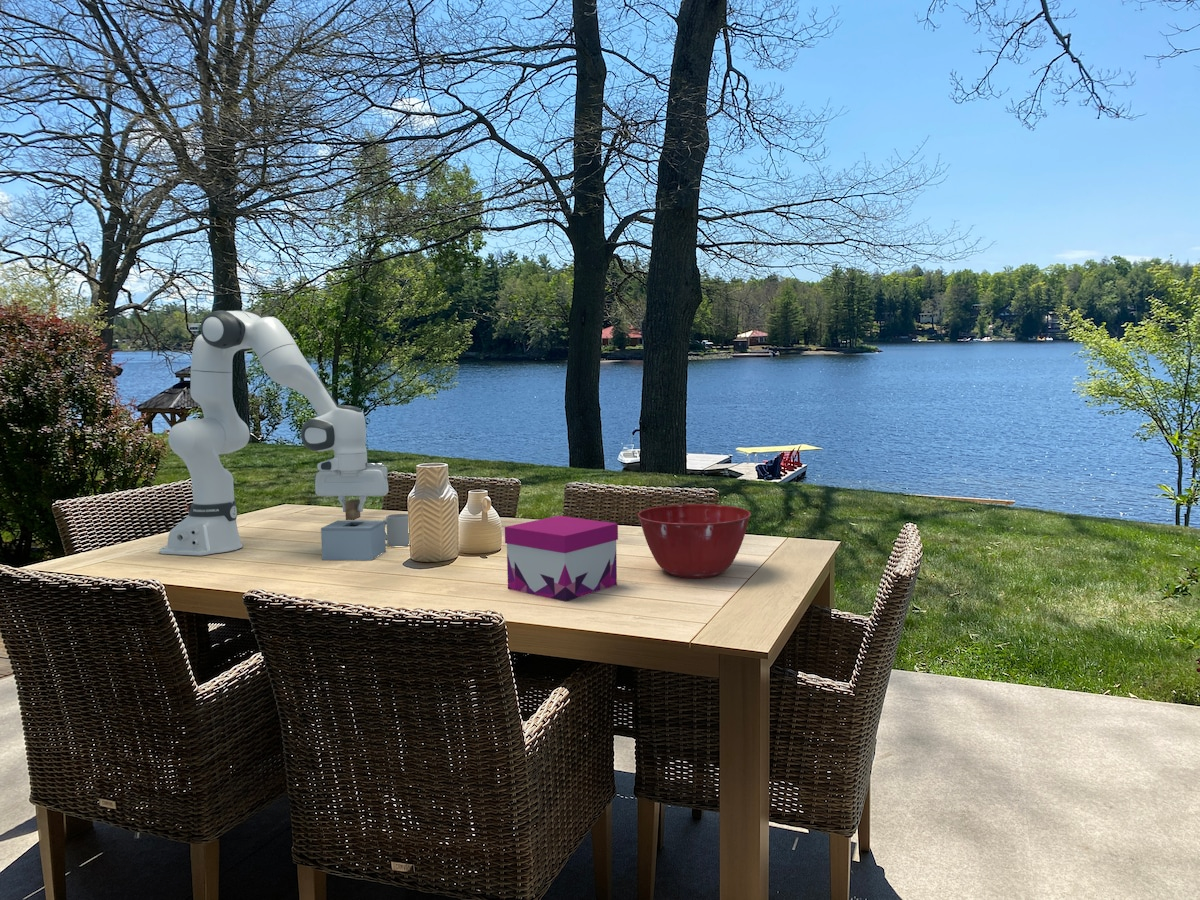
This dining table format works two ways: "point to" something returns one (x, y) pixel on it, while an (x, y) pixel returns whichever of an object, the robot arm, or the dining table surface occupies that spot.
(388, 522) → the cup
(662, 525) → the mixing bowl
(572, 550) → the decorative box
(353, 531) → the money box
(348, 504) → the tile
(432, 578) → the dining table surface
